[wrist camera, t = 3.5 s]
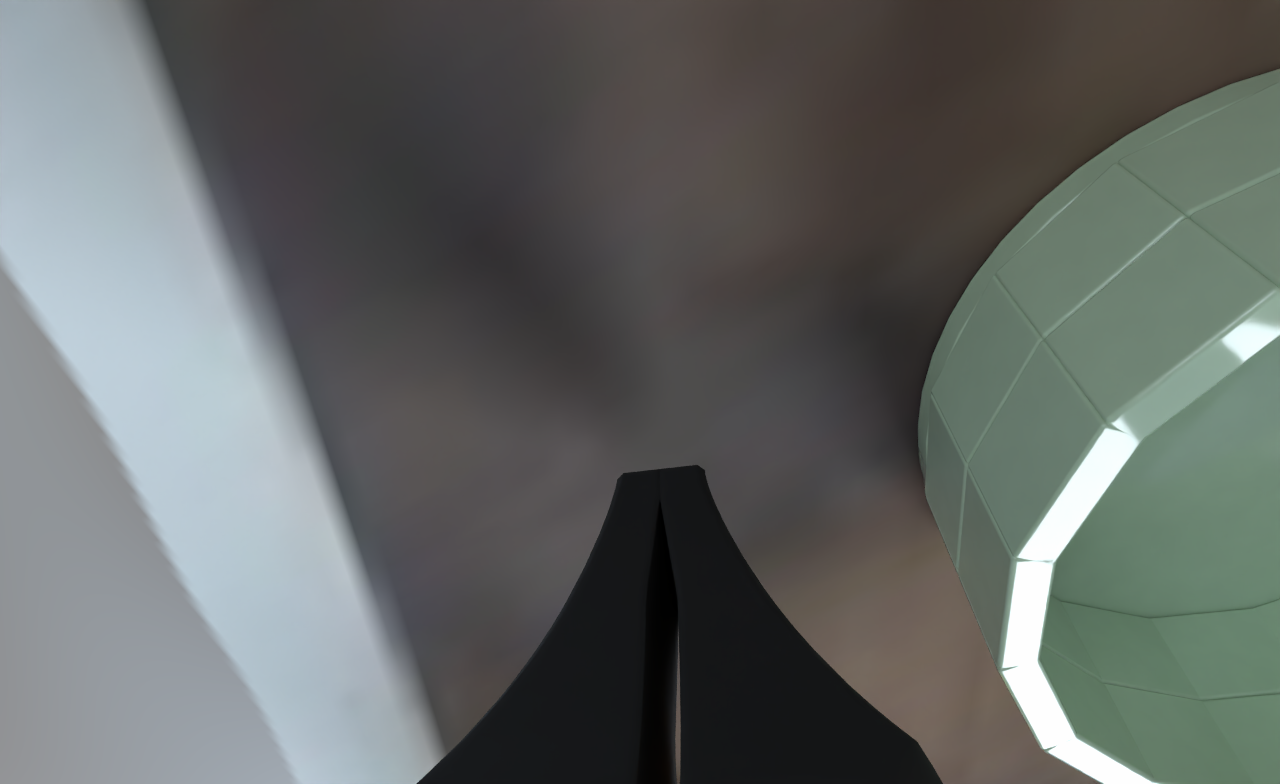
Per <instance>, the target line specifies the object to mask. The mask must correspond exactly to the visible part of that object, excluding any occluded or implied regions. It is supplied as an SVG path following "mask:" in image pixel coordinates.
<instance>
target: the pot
mask: <svg viewBox="0 0 1280 784" xmlns="http://www.w3.org/2000/svg"><path fill="white" fill-rule="evenodd" d="M918 445H919V460H920V465H921V470H922V474H923V479H924V483H925V495H926V500H927V502H928V505H929V507H930V509H931V512H932V514H933V517H934V519H935V521H936V524H937V526H938V529H939V531H940V534H941V536H942V538H943V541H944V543H945V546H946V548H947V550H948V553H949V555H950V558H951V560H952V562H953V565H954V567H955V570H956V572H957V574H958V576H959V579H960V582H961V584H962V587H963V589H964V591H965V594H966V596H967V599H968V601H969V603H970V606H971V608H972V611H973V613H974V615H975V618H976V620H977V623H978V625H979V627H980V630H981V632H982V635H983V637H984V639H985V642H986V644H987V647H988V649H989V651H990V654H991V656H992V659H993V661H994V663H995V666H996V668H997V671H998V672H999V674H1000V676H1001V678H1002V680H1003V681H1004V683H1005V685H1006V687H1007V689H1008V691H1009V692H1010V694H1011V696H1012V698H1013V700H1014V702H1015V703H1016V705H1017V707H1018V709H1019V711H1020V713H1021V714H1022V716H1023V718H1024V720H1025V722H1026V723H1027V725H1028V727H1029V729H1030V731H1031V733H1032V734H1033V736H1034V738H1035V740H1036V742H1037V744H1038V745H1039V747H1040V748H1041V749H1043V750H1044V751H1045V752H1046V753H1048V754H1050V755H1051V756H1053V757H1055V758H1057V759H1058V760H1060V761H1062V762H1064V763H1066V764H1067V765H1069V766H1071V767H1073V768H1074V769H1076V770H1078V771H1080V772H1081V773H1083V774H1085V775H1087V776H1089V777H1090V778H1092V779H1094V780H1096V781H1097V782H1099V783H1101V784H1280V69H1277V70H1274V71H1271V72H1267V73H1264V74H1261V75H1258V76H1255V77H1252V78H1248V79H1245V80H1242V81H1239V82H1236V83H1233V84H1229V85H1227V86H1225V87H1222V88H1220V89H1218V90H1215V91H1213V92H1211V93H1209V94H1206V95H1204V96H1202V97H1199V98H1197V99H1195V100H1192V101H1190V102H1188V103H1185V104H1183V105H1181V106H1178V107H1176V108H1174V109H1172V110H1171V111H1169V112H1167V113H1165V114H1163V115H1162V116H1160V117H1158V118H1156V119H1154V120H1153V121H1151V122H1149V123H1147V124H1145V125H1144V126H1142V127H1140V128H1138V129H1137V130H1135V131H1133V132H1131V133H1129V134H1128V135H1126V136H1124V137H1123V138H1121V139H1120V140H1118V141H1117V142H1115V143H1114V144H1113V145H1111V146H1110V147H1108V148H1107V149H1105V150H1104V151H1102V152H1101V153H1100V154H1098V155H1097V156H1095V157H1094V158H1092V159H1091V160H1090V161H1088V162H1087V163H1085V164H1084V165H1082V166H1081V167H1079V168H1078V169H1077V170H1076V171H1075V172H1073V173H1072V174H1071V175H1070V176H1069V177H1067V178H1066V179H1065V180H1064V181H1063V182H1062V183H1060V184H1059V185H1058V186H1057V187H1056V188H1055V189H1053V190H1052V191H1051V192H1050V193H1049V194H1048V195H1046V196H1045V197H1044V198H1043V199H1042V200H1040V201H1039V202H1038V203H1037V204H1036V205H1035V206H1034V207H1033V208H1032V209H1031V210H1030V211H1029V212H1028V213H1027V214H1026V215H1025V217H1024V218H1023V219H1022V220H1021V221H1020V222H1019V223H1018V224H1017V225H1016V226H1015V227H1014V228H1013V229H1012V230H1011V231H1010V232H1009V233H1008V234H1007V235H1006V236H1005V237H1004V238H1003V240H1002V241H1001V242H1000V243H999V244H998V246H997V247H996V248H995V250H994V251H993V252H992V254H991V255H990V256H989V257H988V259H987V260H986V261H985V263H984V264H983V265H982V267H981V268H980V269H979V270H978V272H977V273H976V274H975V276H974V277H973V278H972V280H971V281H970V283H969V285H968V286H967V288H966V290H965V291H964V293H963V295H962V296H961V298H960V300H959V301H958V303H957V305H956V306H955V308H954V310H953V311H952V313H951V315H950V316H949V319H948V321H947V323H946V325H945V328H944V330H943V332H942V334H941V337H940V339H939V341H938V343H937V346H936V348H935V350H934V353H933V355H932V359H931V362H930V366H929V369H928V373H927V376H926V380H925V383H924V387H923V390H922V397H921V404H920V412H919V420H918Z"/></svg>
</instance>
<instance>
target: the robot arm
mask: <svg viewBox="0 0 1280 784" xmlns="http://www.w3.org/2000/svg"><path fill="white" fill-rule="evenodd" d="M678 626H679V653H680V706H681V769H680V784H943V783H942V781H941V780H940V778H939V776H938V775H937V773H936V771H935V769H934V768H933V766H932V764H931V763H930V761H929V760H928V758H927V756H926V755H925V753H924V752H923V750H922V748H921V747H920V745H919V744H918V742H917V741H916V740H914V739H913V738H912V737H910V736H909V735H908V734H907V733H905V732H904V731H903V730H901V729H900V728H899V727H897V726H896V725H895V724H894V723H892V722H891V721H890V720H889V719H888V718H886V717H885V716H884V715H883V714H881V713H880V712H879V711H878V710H877V709H875V708H874V707H873V706H872V705H871V704H870V703H869V702H867V701H866V700H865V699H864V698H863V697H862V696H861V695H860V694H858V693H857V692H856V691H855V690H854V689H853V688H852V687H851V686H849V685H848V684H847V683H846V682H845V681H844V680H843V679H842V678H841V677H840V676H839V675H838V674H837V673H836V672H835V670H834V669H833V668H832V667H831V666H830V665H829V664H828V663H827V662H826V661H825V660H824V659H823V658H822V657H821V656H820V655H819V654H818V653H817V652H816V651H815V650H814V649H813V648H812V647H811V646H810V645H809V644H808V643H807V641H806V640H805V639H804V638H803V637H802V636H801V635H800V633H799V632H798V631H797V630H796V629H795V628H794V627H793V625H792V624H791V623H790V622H789V620H788V619H787V618H786V617H785V615H784V614H783V613H782V612H781V610H780V609H779V608H778V607H777V605H776V604H775V603H774V601H773V600H772V599H771V597H770V596H769V595H768V593H767V592H766V590H765V589H764V588H763V586H762V585H761V583H760V582H759V580H758V579H757V577H756V576H755V574H754V573H753V571H752V570H751V568H750V567H749V565H748V564H747V562H746V560H745V559H744V557H743V556H742V554H741V552H740V550H739V549H738V547H737V545H736V543H735V542H734V540H733V538H732V536H731V535H730V533H729V531H728V529H727V527H726V525H725V524H724V522H723V520H722V518H721V515H720V513H719V511H718V509H717V507H716V505H715V502H714V500H713V497H712V495H711V492H710V489H709V486H708V483H707V480H706V475H705V470H704V469H702V468H701V467H699V466H698V465H693V466H684V467H675V468H666V469H657V470H649V471H640V472H631V473H623V474H622V475H621V476H620V478H619V479H618V480H617V484H616V489H615V492H614V495H613V499H612V502H611V505H610V508H609V511H608V513H607V516H606V519H605V521H604V524H603V526H602V529H601V532H600V534H599V536H598V538H597V541H596V543H595V545H594V547H593V550H592V552H591V554H590V556H589V559H588V561H587V563H586V565H585V567H584V569H583V571H582V573H581V575H580V577H579V579H578V581H577V583H576V585H575V586H574V588H573V590H572V592H571V594H570V596H569V598H568V600H567V602H566V603H565V605H564V607H563V609H562V610H561V612H560V614H559V615H558V617H557V619H556V620H555V622H554V624H553V625H552V627H551V628H550V630H549V632H548V633H547V635H546V636H545V638H544V639H543V641H542V642H541V644H540V645H539V647H538V648H537V650H536V651H535V653H534V654H533V655H532V657H531V658H530V659H529V661H528V662H527V663H526V665H525V666H524V668H523V669H522V670H521V672H520V673H519V674H518V676H517V677H516V678H515V680H514V681H513V682H512V684H511V685H510V686H509V687H508V689H507V690H506V691H505V692H504V694H503V695H502V696H501V697H500V698H499V699H498V701H497V702H496V703H495V704H494V705H493V706H492V707H491V709H490V710H489V711H488V712H487V713H486V714H485V715H484V716H483V718H482V719H481V720H480V721H479V722H478V723H477V724H476V725H475V727H474V728H473V729H472V730H471V731H470V732H469V733H468V734H467V735H466V737H465V738H464V739H463V740H462V741H461V742H460V743H459V744H458V745H457V746H456V747H455V748H454V749H453V750H452V751H451V752H449V753H448V754H447V755H446V756H445V757H444V758H443V759H442V760H441V761H440V762H439V763H438V764H437V765H436V766H435V767H434V768H433V769H432V770H431V771H430V772H429V773H427V774H426V775H425V776H424V777H423V778H422V779H421V780H420V781H419V782H418V783H417V784H677V778H676V759H675V727H676V695H677V662H678Z"/></svg>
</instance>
